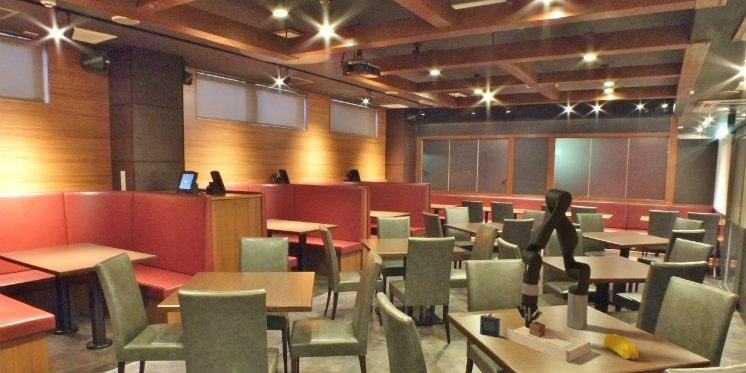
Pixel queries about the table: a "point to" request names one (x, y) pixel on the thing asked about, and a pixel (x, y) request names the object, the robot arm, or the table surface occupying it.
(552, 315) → the table surface
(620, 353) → the yellow banana
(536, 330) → the walnut block
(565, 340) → the track
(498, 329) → the flask
